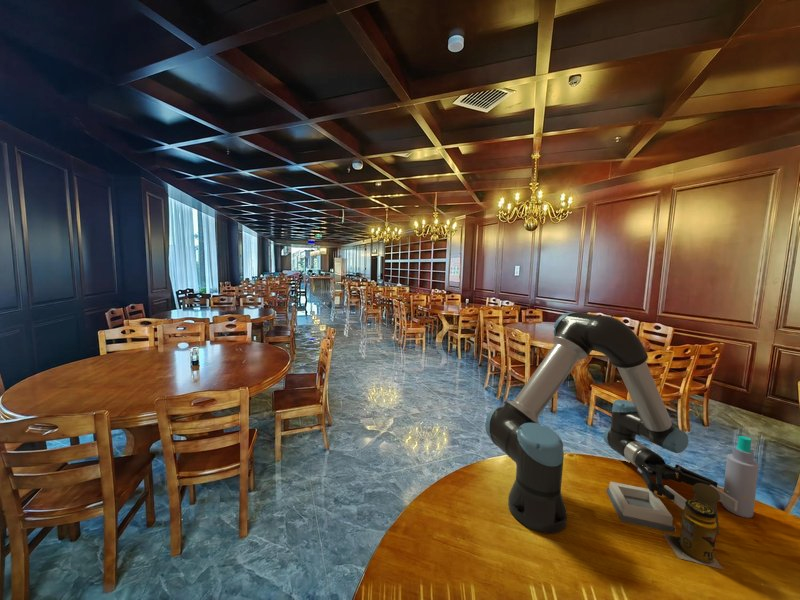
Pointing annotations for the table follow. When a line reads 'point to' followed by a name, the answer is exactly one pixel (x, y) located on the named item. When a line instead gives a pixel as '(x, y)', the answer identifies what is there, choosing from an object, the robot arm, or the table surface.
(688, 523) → the condiment
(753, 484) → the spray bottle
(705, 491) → the cork
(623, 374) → the robot arm
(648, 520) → the collar holder
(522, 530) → the table surface
